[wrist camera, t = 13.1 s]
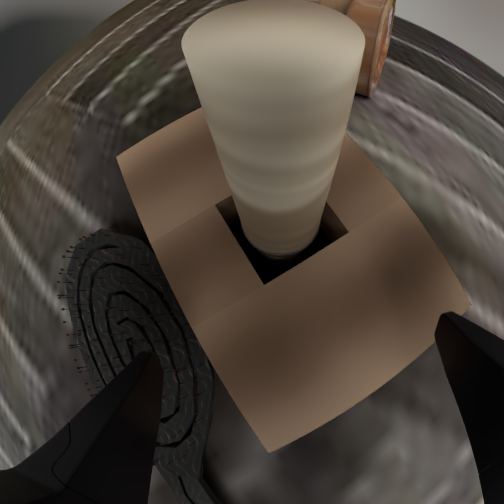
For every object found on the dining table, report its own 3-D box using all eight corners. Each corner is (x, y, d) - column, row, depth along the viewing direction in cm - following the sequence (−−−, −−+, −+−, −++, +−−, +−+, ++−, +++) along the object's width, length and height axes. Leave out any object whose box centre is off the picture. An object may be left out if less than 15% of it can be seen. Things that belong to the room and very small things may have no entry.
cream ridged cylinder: (307, 277, 15) (372, 95, 3) (240, 263, 16) (146, 78, 4) (318, 215, 16) (363, 8, 4) (256, 203, 17) (214, -2, 5)
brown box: (443, 311, 14) (471, 304, 11) (270, 432, 13) (268, 453, 10) (282, 103, 19) (281, 73, 16) (135, 180, 18) (116, 157, 16)
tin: (365, 119, 18) (391, 26, 10) (326, 104, 19) (337, 10, 11) (390, 41, 22) (404, -19, 14) (363, 32, 22) (372, -29, 14)
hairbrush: (199, 590, 7) (34, 258, 14) (209, 562, 11) (68, 270, 17) (320, 573, 7) (143, 196, 14) (315, 543, 11) (166, 220, 17)
